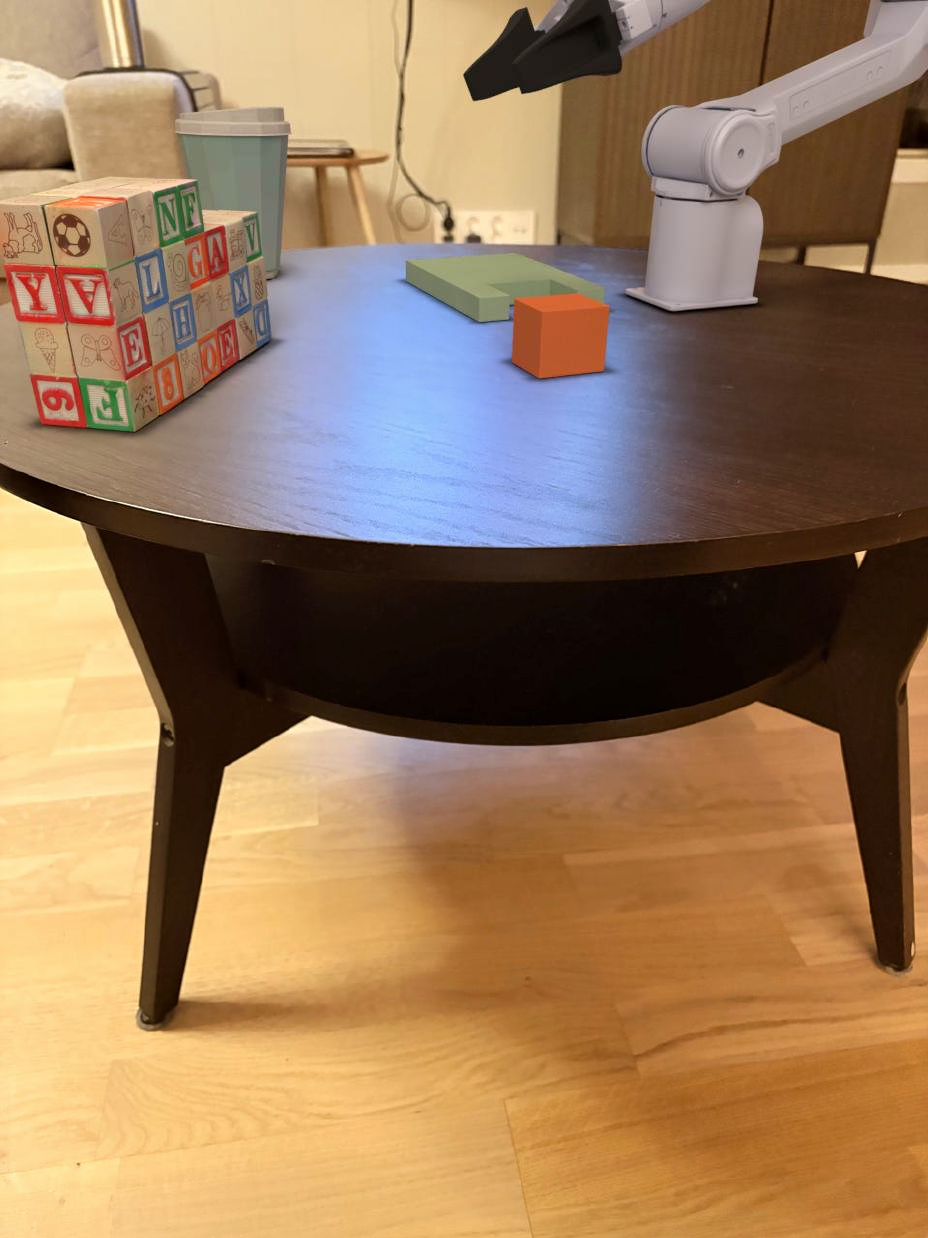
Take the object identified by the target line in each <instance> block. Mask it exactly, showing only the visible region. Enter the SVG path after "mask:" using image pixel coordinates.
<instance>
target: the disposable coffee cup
mask: <svg viewBox="0 0 928 1238" xmlns="http://www.w3.org/2000/svg"><path fill="white" fill-rule="evenodd" d="M291 129H292V128H291V123H290V122H289V121H288V120H285V108H284V107H283V106H248V107H241V108H240V107H239V108H227V109H216V110H206V111H193V112H182V113H181V112H180V113H179V118H176V119H175V121H174V133H175V134H176V136H177V140H178V143H179V148H180V152H181V154H182V155H181V156H182V160H183V164H184V168H185V172H186V177H187V179H193V180H198V187H199V194H200V202H201V208H202V210H215V211H218V210H230V211H249V212H258V219H259V227H260V239H261V248H262V256H263V257H264V262H265V272H266V280H268V279H274V278H275V277H277V276H278V274H279V273H278V272H279V268H281V259H282V258H281V256H282V243H283V242H282V240H283V229H284V228H283V227H284V209H285V194H286V180H287V179H286V178H287V164H288V150H289V149H288V148H289V136H290V135H292V130H291Z"/></svg>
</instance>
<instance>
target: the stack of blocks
mask: <svg viewBox="0 0 928 1238" xmlns="http://www.w3.org/2000/svg"><path fill="white" fill-rule="evenodd" d="M0 250H1V254H2V258H3V261H4V263H3V271H4V274H5V280H6V284H7V288H8V292H9V296H10V300H11V305H12V309H13V312H14V316H15V319H16V321H17V324H18V330H19V333H20V337H21V340H22V345H23V349H24V354H25V357H26V363H27V366H28V370H29V378H30V383H31V387H32V391H33V395H34V398H35V404H36V409H37V413H38V417H39V421H40V423H41V424H42V425H46V426H47V425H49V426H58V427H70V428H71V427H72V428H83V429H84V428H85V429H86V428H89V429H90V428H91V429H96V430H97V429H98V430H107V431H119V432H132V433H135V432H137V431H139V430H140V429H142V428H143V427H144V426H146V425H147V424H149V423H151V422H152V421H154V420H155V419H157V418H158V417H159V415H160V416H161V415H164V414H166V413H167V412H168V411H169V410H171V409H173V408H174V407H175V406H177V405H178V404H180V403H181V402H182V401H183V400H185V399H187V398H189V397H190V396H192V395H193V394H195V393H196V392H198V391H199V390H200V389H201V388H204V386H205V385H206V384H208V382H210V381H211V380H212V379H214V378H216V377H217V376H218V375H220V374H221V373H222V372H224V371H226V370H228V368H230V367H231V366H233V365H234V364H236V363H237V362H238V361H240V360H242V359H244V358H245V357H246V356H248V355H249V354H251V353H253V352H254V351H255V350H257V349H259V348H261V346H263V345H264V344H266V343H268V342H269V341H270V340H271V339H272V329H271V328H272V327H271V318H270V308H269V300H268V295H269V294H268V283H267V279H266V272H265V262H264V257H263V256H262V248H261V239H260V227H259V219H258V212H249V211H230V210H218V211H215V210H202V208H201V202H200V194H199V187H198V180H193V179H188V178H187V179H186V178H157V177H155V178H153V177H127V176H126V177H125V176H106V177H101V178H96V179H92V180H87V181H80V182H74V183H72V184H66V185H63V186H60V187H59V188H53V189H48V190H43V191H39V192H35V193H30V194H28V195H20V196H15V197H10V198H5V199H1V200H0Z"/></svg>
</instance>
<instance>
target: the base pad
mask: <svg viewBox="0 0 928 1238" xmlns="http://www.w3.org/2000/svg"><path fill="white" fill-rule="evenodd" d="M405 282H407V283H408V284H411V285H412V286H413V287H416V288H418V289H419V290H421V291H423V292H424V293H427V294H428V295H429V296H432V297H433V298H435V299H437V300H439V301H440V302H442V303H444V304H446V305H448V306H450V307H451V308H453V309H454V310H457V311H458V312H461V313H462V314H464V315H465V316H467V317H469V318H470V319H473V320H474V321H476V322H478V323H487V322H498V321H509V320H510V307H511V306H512V305H513V306H514V299H515V298H526V297H538V296H550V295H562V294H574V293H580V294H582V295H584V296H587V297H589V298H592V299H594V300H596V301H599V302H601V303H604V304H605V297H606V287H605V286H602V285H599V284H598V283H594V282H592V281H589V280H587V279H585V278H582V277H580V276H577V275H575V274H571V273H569V272H566V271H564V270H561V269H558V268H557V267H553V266H551V265H548V264H546V263H543V262H541V261H538V260H535V259H533V258H530V257H527V256H525V255H522V254H520V253H517V252H510V253H509V252H507V253H494V254H493V253H492V254H478V255H461V256H448V257H445V256H444V257H430V258H417V259H406V260H405Z"/></svg>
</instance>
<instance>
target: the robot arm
mask: <svg viewBox="0 0 928 1238" xmlns="http://www.w3.org/2000/svg"><path fill="white" fill-rule="evenodd" d="M711 1H712V0H555V2H554V3H553V4H552V6H551V7H550V8H549V10H548V11H547V12H546V14H545V16H543V18H542V20H541V21H540V22H539V23H538V24H536V25H534V23H533V20H532V17H531V14H530V12H529V9H528V7H527V6H525V7H522V8H518V9H517V10H515V11H514V12H513V13H512V14H511V15H510V17H509V19H508V21H507V23H506V25H505V26H504V29H503V30H502V31H501V33H500V34H499V36H498V37H497V38H496V40H495V41H494V42H493V43H492V44H491V46H489V47H488V48H487V50H485V51H484V52H483V53H482V54H481V55H480V56H479V57H478V58H477V59H476V60H474V61H473V62H472V63H471V64H470V66H469V67H468V68H467V69H466V70H465V71H464V72H463V74H462V76H463V79H464V83H465V85H466V87H467V90H468V92H469V95H470V98H471V100H472V102H478V101H479V102H480V101H484V100H488V99H490V98H494V97H497V96H499V95H502V94H503V93H504V94H505V93H507V92H509V91H512V90H515V89H518V88H519V91H520V94H521V95H526V94H532V93H537V92H539V91H543V90H546V89H549V88H552V87H554V86H557V85H560V84H562V83H565V82H569V81H571V80H575V79H579V78H582V77H583V78H584V77H592V76H595V77H597V76H598V77H599V76H601V77H608V76H615V75H618V74H620V73H621V71H622V69H623V58H622V56H624V55H625V54H627V53H628V52H630V51H632V50H633V49H635V48H636V47H638V46H640V45H642V44H644V43H645V42H647V41H649V40H650V39H652V38H653V37H655V36H657V35H658V34H660V33H662V32H663V31H665V30H666V29H668V28H670V27H672V26H673V25H675V24H676V23H678V22H680V21H682V20H683V19H685V18H687V17H688V16H689V15H691V14H693V13H695V12H696V11H698V10H699V9H701V8H702V7H703V6H704V5H706V4H707V3H709V2H711ZM868 7H869V8H868V11H867V16H866V21H865V25H864V30H863V37H864V38H862V39H860V40H858V41H856V42H853V43H852V44H850V45H847V46H845V47H842V48H841V49H838V50H836V51H834V52H832V53H830V54H828V55H825V56H824V57H821V58H819V59H817V60H815V61H812V62H810V63H808V64H806V65H803V66H802V67H799V68H796V69H795V70H793V71H791V72H788V73H786V74H783V75H782V76H779V77H777V78H776V79H773V80H771V81H768V82H766V83H764V84H762V85H760V86H757V87H755V88H753V89H751V90H749V91H746V92H745V93H743V94H740V95H735V96H731V97H726V98H720V99H714V100H710V101H705V102H702V103H700V104H697V105H695V106H691V107H688V106H684V105H679V104H678V105H677V104H672V105H668V106H666V107H663V108H662V109H660V110H658V112H656V113H655V115H653V117H652V119H650V120H649V122H648V124H647V126H646V128H645V130H644V133H643V135H642V140H641V149H640V153H641V155H640V156H641V163H642V166H643V169H644V171H645V173H646V175H647V176H648V177H649V178H650V180H651V184H650V191H651V192H653V193H655V194H654V198H653V206H652V215H651V224H650V233H649V245H648V251H647V253H648V254H647V262H646V263H647V264H646V271H645V272H646V273H645V282H644V286H641V287H630V288H629V287H628V288H626V289H625V291H624V292H625V295H627V296H630V297H632V298H635V299H638V300H641V301H643V302H644V303H645V302H646V303H648V304H651V305H653V306H655V307H659V308H661V309H663V310H666V311H669V312H679V311H680V312H681V311H691V310H702V309H712V308H721V307H722V308H724V307H733V306H744V305H745V306H746V305H754V304H757V303H758V300H759V298H758V297H756V296H754V289H755V283H756V277H757V272H758V265H759V259H760V253H761V247H762V241H763V235H764V217H763V212H762V209H761V206H760V204H759V202H757V200H755V199H754V198H753V197H752V196H750V195H747V194H746V193H747V190H748V189H749V188H750V187H751V186H752V185H753V183H754V182H755V181H756V179H757V178H758V177H760V175H761V174H762V173H763V172H764V171H765V170H766V169H768V168H770V167H771V166H774V165H775V164H777V163H778V162H779V160H780V156H781V150H782V146H784V145H786V144H789V143H790V142H793V141H795V140H797V139H798V138H801V137H802V136H805V135H807V134H809V133H811V132H813V131H815V130H817V129H819V128H821V127H824V126H826V125H828V124H830V123H832V122H834V121H836V120H838V119H841V118H842V117H845V116H846V115H849V114H851V113H852V112H854V111H857V110H859V109H861V108H863V107H865V106H867V105H870V104H872V103H874V102H875V101H878V100H880V99H882V98H884V97H886V96H888V95H890V94H892V93H894V92H897V91H899V90H901V89H902V88H904V87H906V86H909V85H911V84H912V83H913V84H914V82H916V81H917V80H918V79H920V77H922V76H923V75H924V74H925V73H926V71H928V0H870V2H869V6H868Z"/></svg>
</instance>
